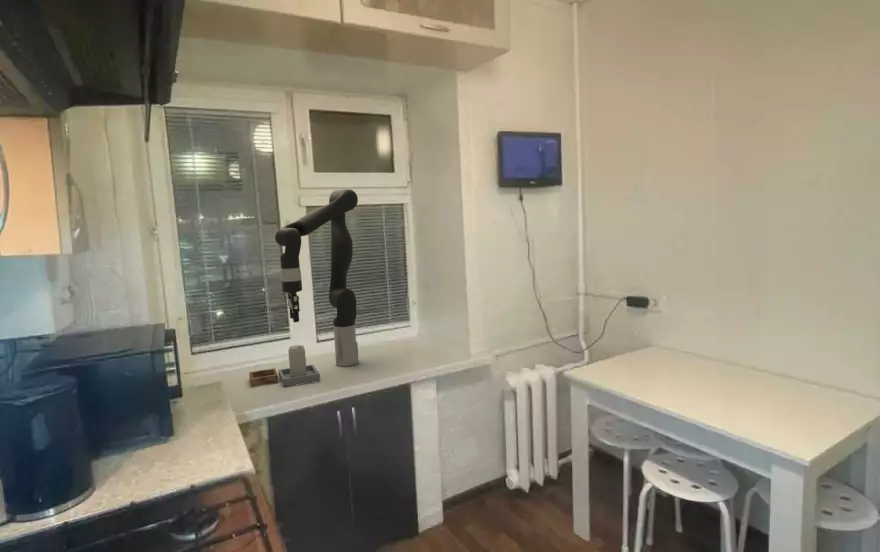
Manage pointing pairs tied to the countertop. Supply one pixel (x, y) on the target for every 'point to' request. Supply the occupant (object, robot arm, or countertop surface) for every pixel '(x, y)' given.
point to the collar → (263, 377)
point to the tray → (308, 377)
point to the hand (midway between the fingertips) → (294, 320)
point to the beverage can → (297, 360)
